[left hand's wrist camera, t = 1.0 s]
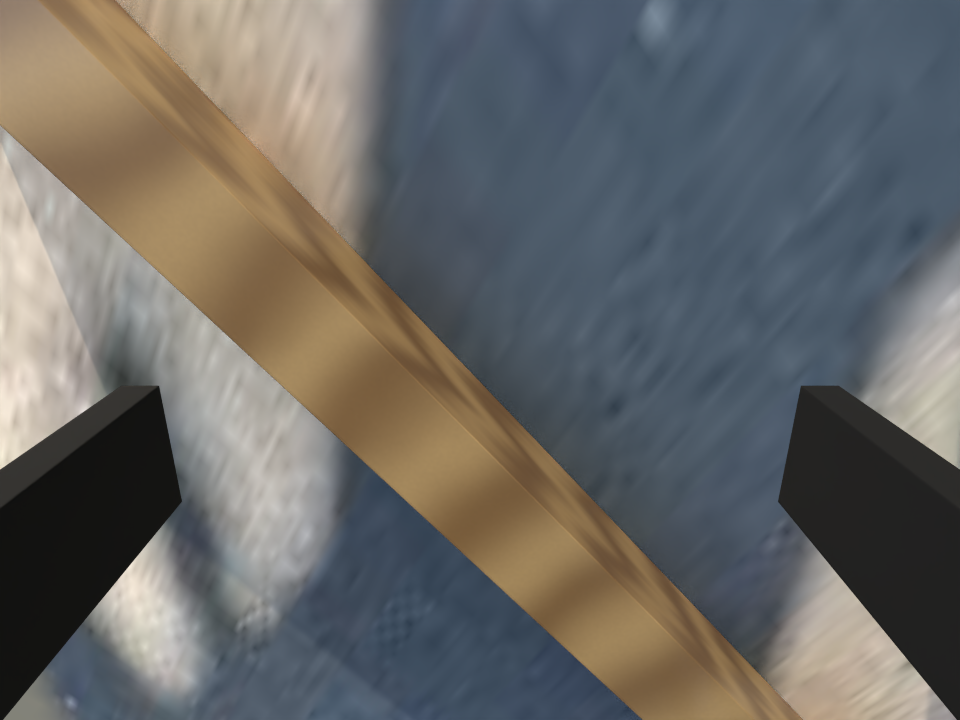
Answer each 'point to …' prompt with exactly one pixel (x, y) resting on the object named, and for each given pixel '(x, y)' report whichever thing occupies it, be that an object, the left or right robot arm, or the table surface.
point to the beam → (352, 351)
